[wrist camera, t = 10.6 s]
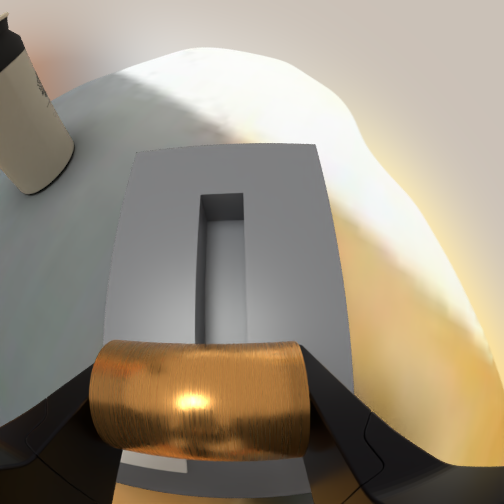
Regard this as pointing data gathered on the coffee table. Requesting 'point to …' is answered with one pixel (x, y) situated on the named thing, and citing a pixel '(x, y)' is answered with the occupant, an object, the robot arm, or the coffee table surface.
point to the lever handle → (202, 400)
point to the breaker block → (227, 282)
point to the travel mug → (27, 120)
